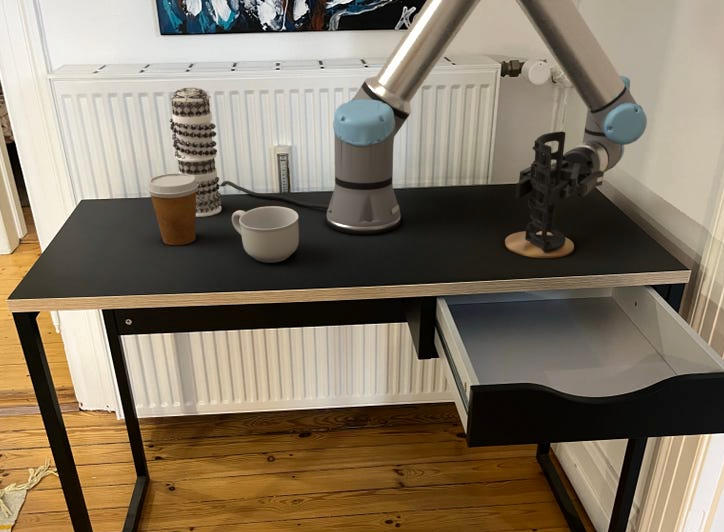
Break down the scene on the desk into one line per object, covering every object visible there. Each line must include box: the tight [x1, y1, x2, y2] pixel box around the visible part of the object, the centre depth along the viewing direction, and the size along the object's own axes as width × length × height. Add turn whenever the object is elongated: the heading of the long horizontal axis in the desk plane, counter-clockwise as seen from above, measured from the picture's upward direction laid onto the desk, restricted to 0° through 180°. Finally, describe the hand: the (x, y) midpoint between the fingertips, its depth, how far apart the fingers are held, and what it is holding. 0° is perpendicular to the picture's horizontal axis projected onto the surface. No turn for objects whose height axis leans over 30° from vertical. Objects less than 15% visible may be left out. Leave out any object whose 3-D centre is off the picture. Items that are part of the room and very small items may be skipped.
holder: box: [525, 131, 567, 253], centre depth 141 cm, size 11×8×20 cm
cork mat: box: [504, 230, 575, 259], centre depth 147 cm, size 13×13×1 cm
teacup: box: [231, 205, 300, 264], centre depth 141 cm, size 14×11×8 cm
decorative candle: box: [169, 87, 222, 218], centre depth 159 cm, size 9×9×25 cm
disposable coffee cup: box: [146, 172, 198, 246], centre depth 147 cm, size 10×10×12 cm
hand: (534, 194), depth 138 cm, fingers closed on holder, 6 cm apart
